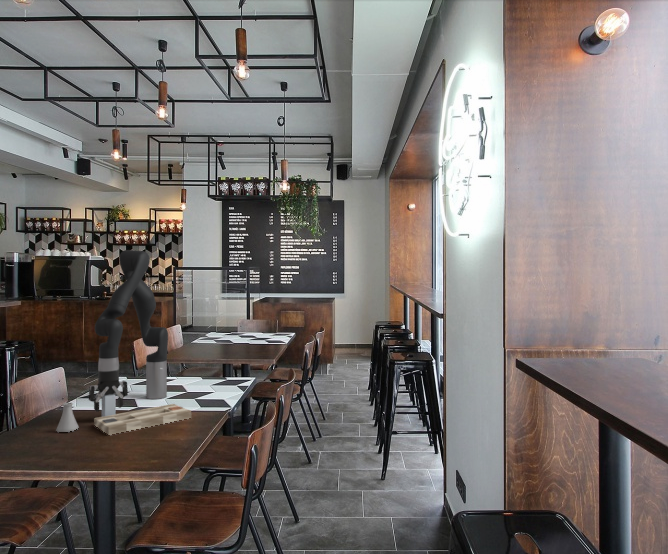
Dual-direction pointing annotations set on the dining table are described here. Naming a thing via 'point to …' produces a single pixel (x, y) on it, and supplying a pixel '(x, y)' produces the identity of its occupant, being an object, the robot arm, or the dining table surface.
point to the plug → (108, 405)
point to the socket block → (141, 418)
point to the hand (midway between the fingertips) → (108, 409)
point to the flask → (67, 419)
